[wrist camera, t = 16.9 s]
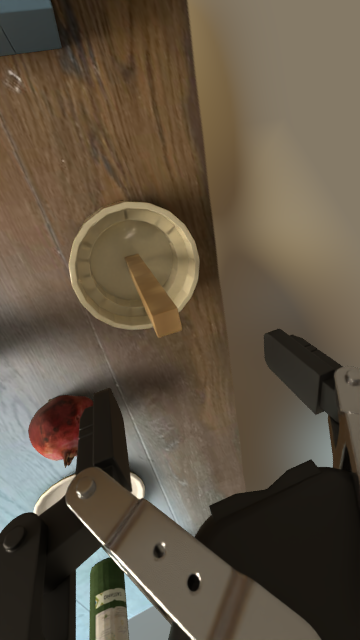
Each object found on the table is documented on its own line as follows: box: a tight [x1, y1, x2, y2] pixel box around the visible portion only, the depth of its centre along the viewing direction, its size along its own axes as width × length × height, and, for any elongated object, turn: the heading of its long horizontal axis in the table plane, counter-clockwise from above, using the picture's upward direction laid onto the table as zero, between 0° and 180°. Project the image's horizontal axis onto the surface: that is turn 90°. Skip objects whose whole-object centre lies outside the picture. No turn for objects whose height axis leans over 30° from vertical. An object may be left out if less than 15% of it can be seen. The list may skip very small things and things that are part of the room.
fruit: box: [28, 395, 93, 468], centre depth 36 cm, size 9×10×10 cm
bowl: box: [69, 200, 200, 330], centre depth 31 cm, size 14×14×6 cm
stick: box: [124, 254, 182, 338], centre depth 25 cm, size 2×2×18 cm
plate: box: [34, 472, 145, 516], centre depth 51 cm, size 21×21×1 cm
